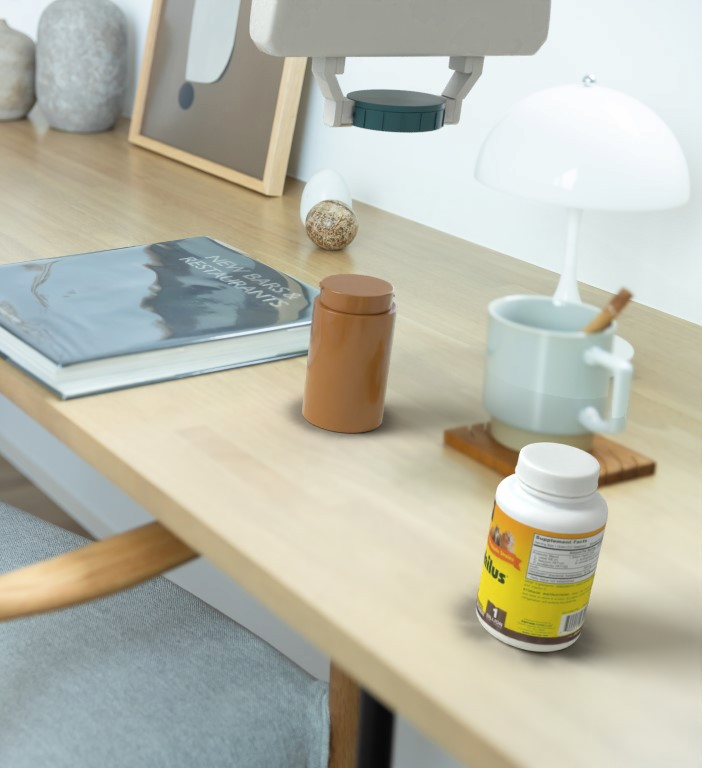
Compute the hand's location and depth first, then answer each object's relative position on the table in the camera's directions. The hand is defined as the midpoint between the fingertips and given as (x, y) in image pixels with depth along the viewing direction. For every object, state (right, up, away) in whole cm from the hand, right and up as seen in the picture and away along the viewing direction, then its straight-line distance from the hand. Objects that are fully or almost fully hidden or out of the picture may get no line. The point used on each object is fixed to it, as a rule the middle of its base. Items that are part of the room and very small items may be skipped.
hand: (390, 124), depth 79 cm
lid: (0, +1, -1) cm, 2 cm away
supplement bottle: (+4, -31, -15) cm, 35 cm away
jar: (-2, -20, +9) cm, 22 cm away
